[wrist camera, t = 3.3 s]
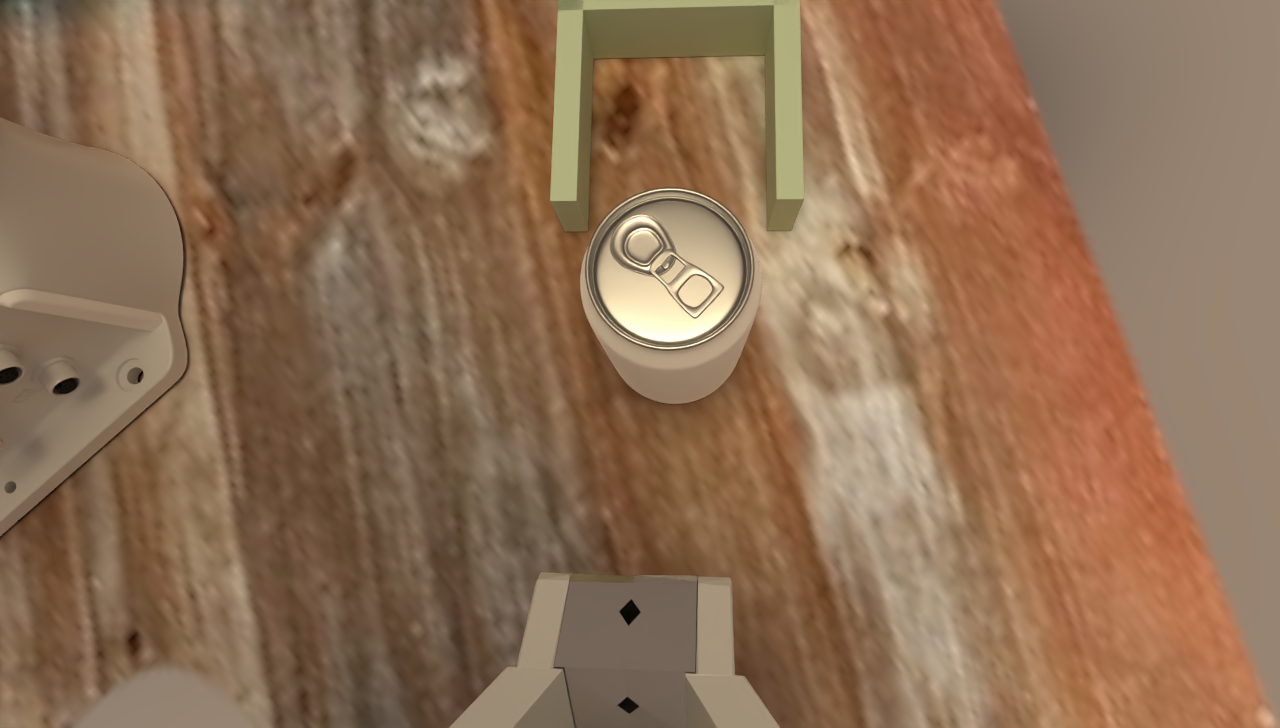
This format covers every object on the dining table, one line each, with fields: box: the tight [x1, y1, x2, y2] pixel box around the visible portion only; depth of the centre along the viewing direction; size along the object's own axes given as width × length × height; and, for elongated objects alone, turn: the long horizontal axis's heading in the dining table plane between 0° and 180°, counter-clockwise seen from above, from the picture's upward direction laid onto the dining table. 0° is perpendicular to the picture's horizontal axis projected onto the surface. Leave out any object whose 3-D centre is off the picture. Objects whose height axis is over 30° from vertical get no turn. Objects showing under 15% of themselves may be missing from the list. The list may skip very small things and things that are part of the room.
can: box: [580, 187, 762, 404], centre depth 30 cm, size 6×6×12 cm
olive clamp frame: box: [550, 0, 804, 232], centre depth 31 cm, size 15×11×14 cm
